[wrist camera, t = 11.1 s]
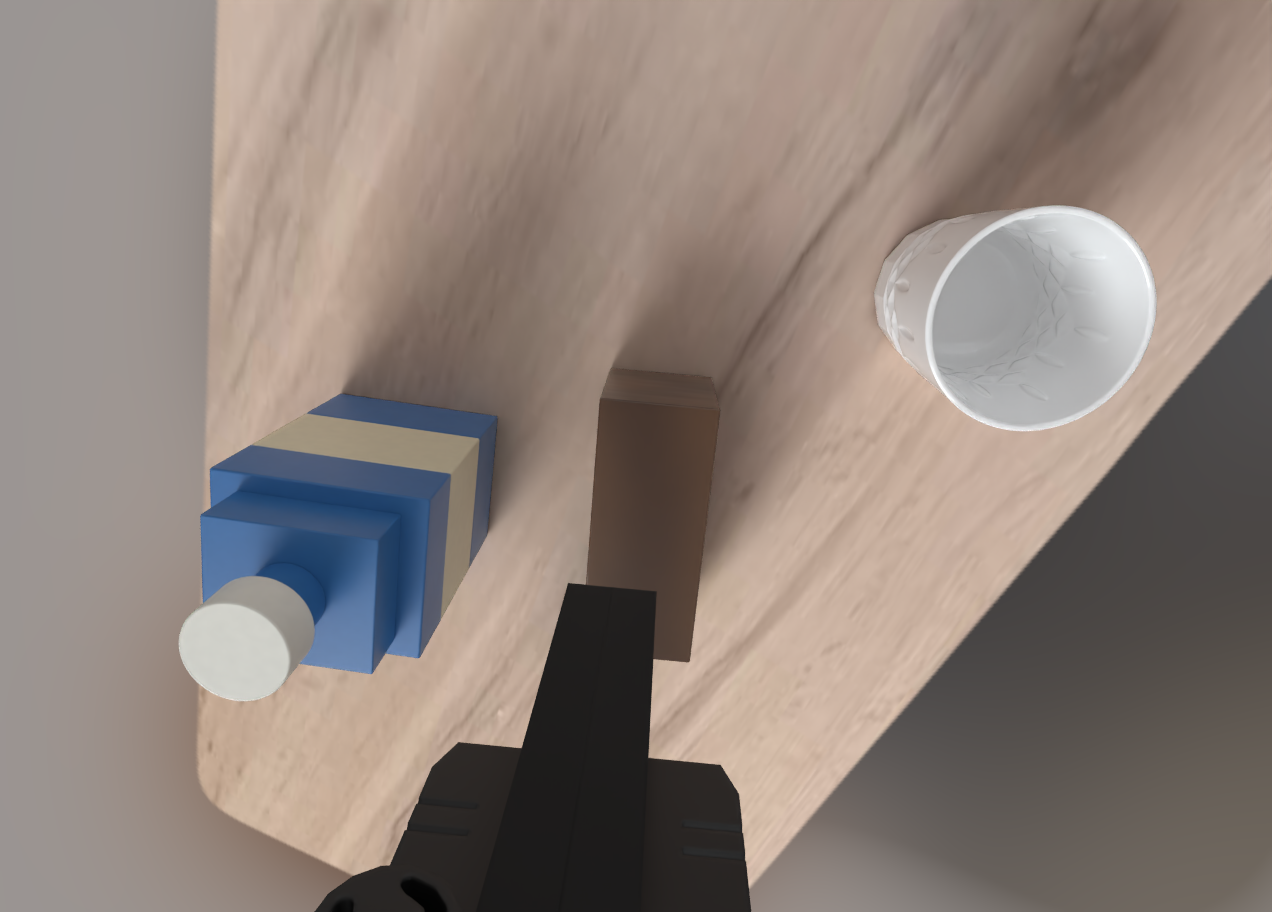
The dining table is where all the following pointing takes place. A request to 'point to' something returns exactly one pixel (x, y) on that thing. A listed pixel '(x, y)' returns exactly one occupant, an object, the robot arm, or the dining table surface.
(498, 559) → the dining table surface
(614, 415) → the block
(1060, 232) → the white cup
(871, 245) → the dining table surface
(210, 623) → the bottle
